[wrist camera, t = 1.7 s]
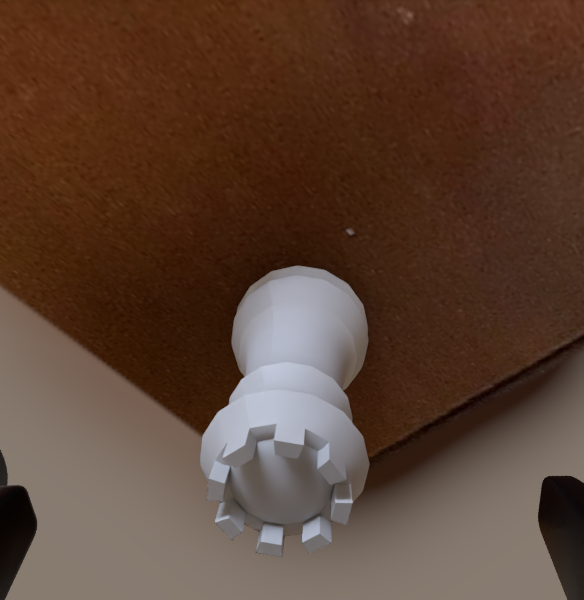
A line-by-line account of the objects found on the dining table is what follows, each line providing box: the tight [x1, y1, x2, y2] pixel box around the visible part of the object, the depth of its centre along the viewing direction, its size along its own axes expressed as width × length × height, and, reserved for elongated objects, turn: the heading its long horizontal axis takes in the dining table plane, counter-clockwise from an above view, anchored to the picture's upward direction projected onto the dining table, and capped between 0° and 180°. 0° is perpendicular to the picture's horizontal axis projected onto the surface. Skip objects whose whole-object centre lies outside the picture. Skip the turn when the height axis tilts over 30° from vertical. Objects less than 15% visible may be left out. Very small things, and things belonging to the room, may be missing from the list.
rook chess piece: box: [200, 266, 370, 557], centre depth 11 cm, size 4×4×8 cm
